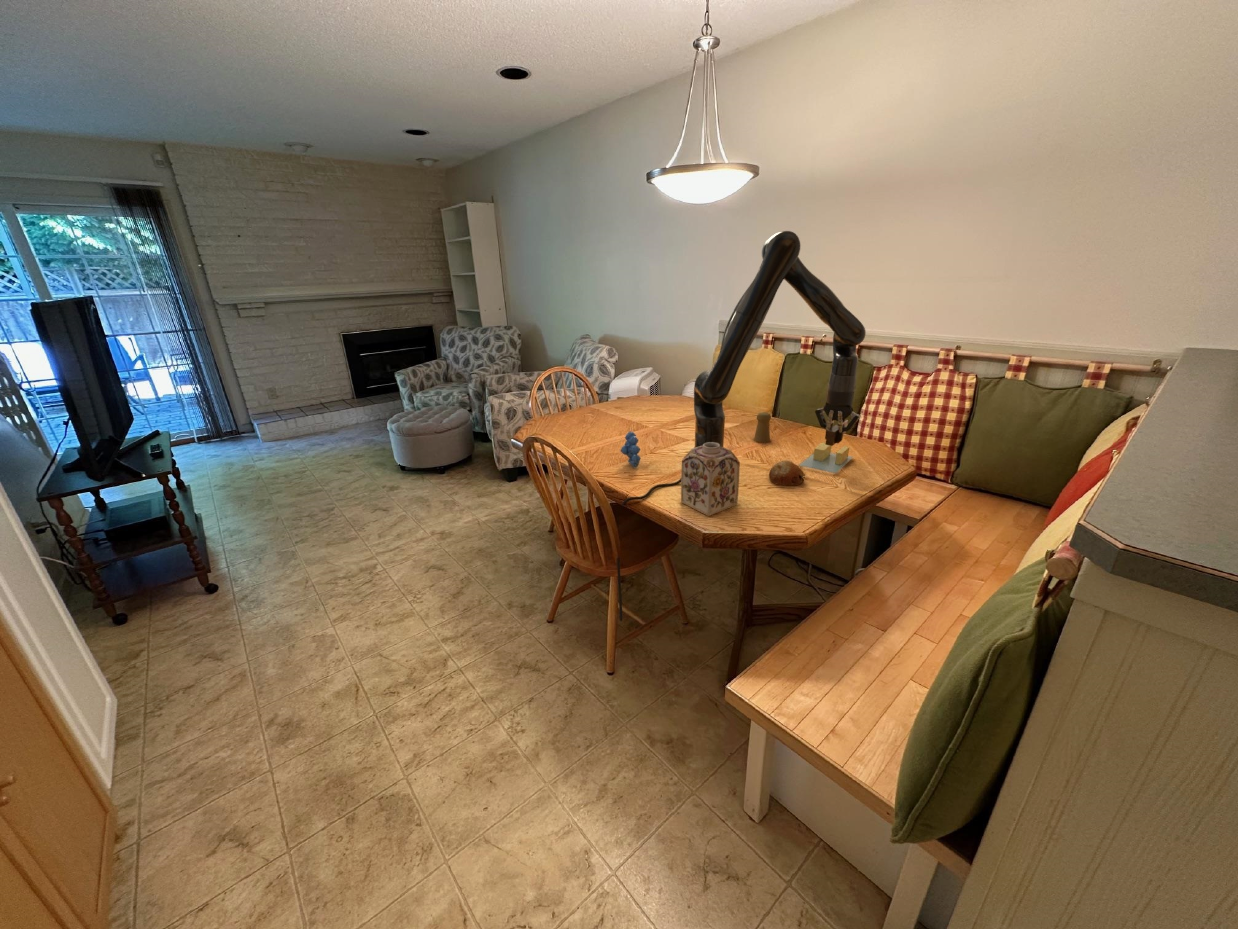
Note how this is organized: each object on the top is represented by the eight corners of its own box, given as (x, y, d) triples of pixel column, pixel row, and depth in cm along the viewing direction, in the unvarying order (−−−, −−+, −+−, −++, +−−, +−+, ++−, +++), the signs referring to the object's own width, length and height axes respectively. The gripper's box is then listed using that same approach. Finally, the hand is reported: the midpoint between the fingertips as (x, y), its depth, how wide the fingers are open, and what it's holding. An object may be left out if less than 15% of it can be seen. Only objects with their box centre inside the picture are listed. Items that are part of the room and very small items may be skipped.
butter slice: (840, 465, 158) (842, 453, 156) (834, 463, 159) (836, 452, 157) (847, 458, 163) (849, 447, 162) (842, 457, 164) (843, 446, 163)
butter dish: (835, 476, 152) (836, 473, 151) (798, 468, 159) (798, 465, 159) (852, 459, 164) (853, 457, 164) (817, 452, 172) (817, 450, 171)
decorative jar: (738, 505, 135) (742, 445, 128) (709, 517, 129) (711, 455, 122) (708, 491, 144) (710, 434, 137) (679, 502, 138) (680, 443, 131)
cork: (753, 442, 185) (755, 414, 181) (754, 437, 190) (756, 410, 186) (769, 443, 183) (772, 415, 179) (770, 438, 188) (772, 411, 184)
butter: (822, 461, 161) (823, 450, 160) (812, 459, 163) (814, 448, 162) (830, 454, 167) (831, 443, 165) (821, 452, 169) (822, 442, 167)
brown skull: (783, 483, 157) (775, 460, 156) (812, 478, 149) (804, 453, 149) (768, 492, 150) (760, 468, 150) (797, 487, 143) (789, 462, 142)
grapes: (616, 461, 171) (615, 428, 166) (634, 458, 172) (634, 426, 168) (625, 472, 160) (624, 438, 156) (644, 470, 161) (643, 436, 157)
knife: (832, 446, 149) (834, 432, 147) (825, 444, 150) (827, 430, 149) (849, 432, 161) (851, 419, 159) (842, 431, 162) (844, 418, 161)
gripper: (813, 387, 148) (807, 440, 154) (861, 393, 139) (852, 449, 145) (822, 383, 153) (815, 435, 159) (869, 388, 144) (859, 443, 151)
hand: (833, 441), depth 152 cm, fingers closed on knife, 2 cm apart
